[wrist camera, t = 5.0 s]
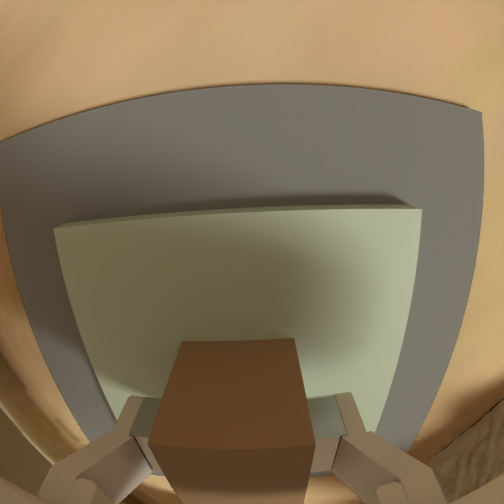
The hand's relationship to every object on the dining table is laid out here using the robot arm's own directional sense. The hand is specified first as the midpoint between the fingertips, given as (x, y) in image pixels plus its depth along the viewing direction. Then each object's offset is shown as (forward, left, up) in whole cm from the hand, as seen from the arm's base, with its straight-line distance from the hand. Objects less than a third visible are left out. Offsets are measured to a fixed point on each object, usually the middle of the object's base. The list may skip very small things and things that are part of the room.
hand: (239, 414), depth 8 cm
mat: (0, 0, -3) cm, 3 cm away
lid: (0, 0, -2) cm, 2 cm away
